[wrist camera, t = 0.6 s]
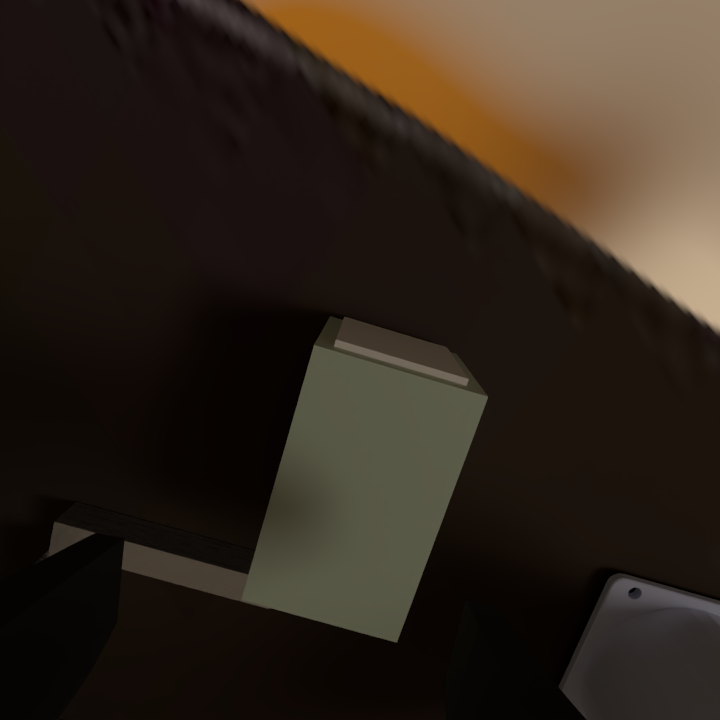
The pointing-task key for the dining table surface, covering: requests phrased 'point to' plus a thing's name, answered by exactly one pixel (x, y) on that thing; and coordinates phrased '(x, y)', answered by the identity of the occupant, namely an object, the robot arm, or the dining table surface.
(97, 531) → the grey l-shaped piece
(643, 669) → the robot arm
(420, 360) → the cabinet block
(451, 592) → the dining table surface
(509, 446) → the dining table surface
